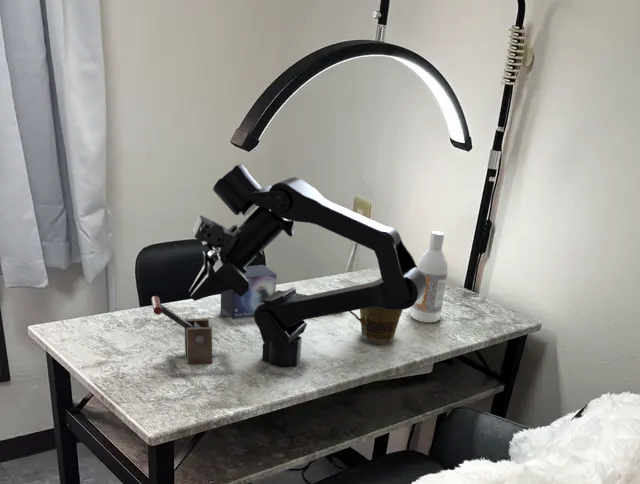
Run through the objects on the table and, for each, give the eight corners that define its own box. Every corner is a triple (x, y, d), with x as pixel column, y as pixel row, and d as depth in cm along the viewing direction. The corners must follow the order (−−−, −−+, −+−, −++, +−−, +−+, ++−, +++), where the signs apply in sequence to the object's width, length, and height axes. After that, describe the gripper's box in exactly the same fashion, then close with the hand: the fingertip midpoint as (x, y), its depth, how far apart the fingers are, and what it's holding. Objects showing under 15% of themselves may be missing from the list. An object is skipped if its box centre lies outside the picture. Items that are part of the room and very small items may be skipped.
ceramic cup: (387, 328, 164) (393, 285, 159) (408, 345, 157) (414, 301, 152) (334, 332, 159) (338, 288, 154) (353, 350, 151) (357, 305, 146)
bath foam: (405, 313, 173) (416, 229, 163) (428, 310, 176) (441, 227, 166) (421, 324, 168) (434, 238, 158) (445, 321, 172) (459, 236, 161)
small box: (232, 325, 156) (232, 278, 151) (219, 314, 160) (219, 268, 155) (276, 319, 162) (277, 273, 156) (262, 308, 166) (263, 263, 161)
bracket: (173, 375, 133) (171, 333, 129) (169, 357, 140) (167, 316, 135) (228, 372, 137) (228, 331, 132) (222, 355, 143) (221, 315, 139)
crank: (150, 313, 127) (158, 303, 127) (148, 302, 132) (156, 292, 131) (202, 348, 134) (210, 338, 133) (198, 336, 138) (206, 326, 137)
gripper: (213, 188, 131) (152, 248, 133) (229, 216, 116) (161, 283, 119) (255, 233, 138) (197, 289, 140) (276, 264, 123) (211, 327, 125)
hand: (191, 296), depth 131 cm, fingers closed
